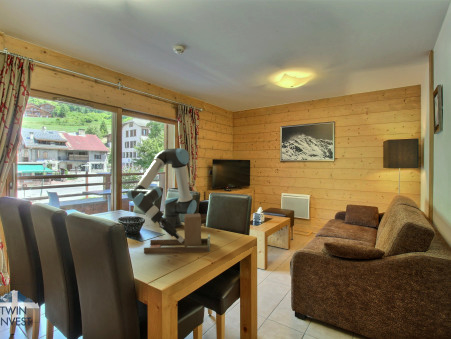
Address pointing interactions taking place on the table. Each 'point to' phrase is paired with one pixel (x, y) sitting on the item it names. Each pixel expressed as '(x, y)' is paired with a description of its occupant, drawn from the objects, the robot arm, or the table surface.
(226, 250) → the table surface
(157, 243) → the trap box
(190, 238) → the wooden block
